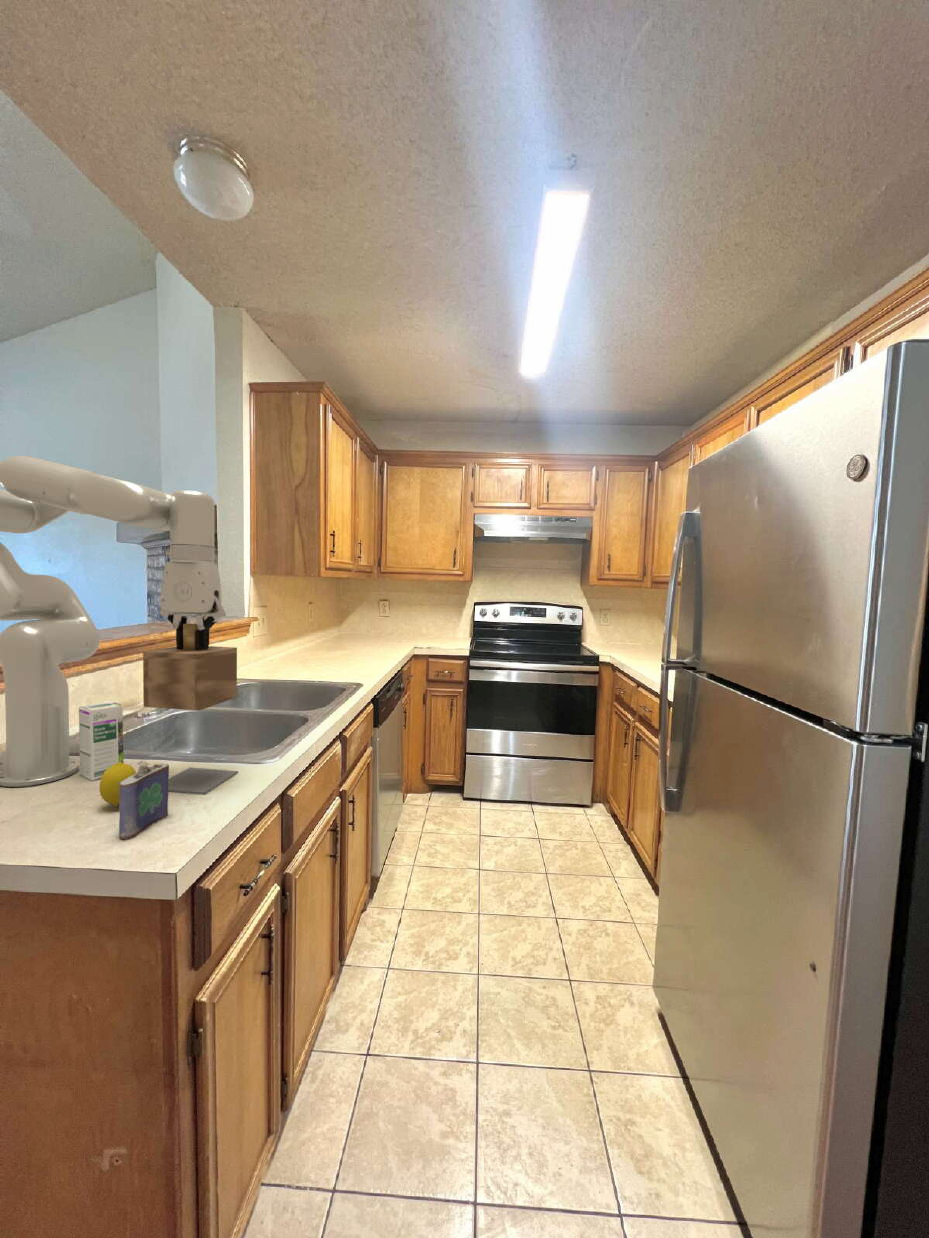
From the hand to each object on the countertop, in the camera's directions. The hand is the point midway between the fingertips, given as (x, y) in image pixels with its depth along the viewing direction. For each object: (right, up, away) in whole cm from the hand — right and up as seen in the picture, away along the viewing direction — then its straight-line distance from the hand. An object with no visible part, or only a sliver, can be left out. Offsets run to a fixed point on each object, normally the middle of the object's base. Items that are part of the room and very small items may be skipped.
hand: (192, 648), depth 94 cm
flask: (+1, -29, -16) cm, 33 cm away
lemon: (-8, -28, -9) cm, 30 cm away
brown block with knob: (0, -11, +1) cm, 11 cm away
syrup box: (-22, -27, +4) cm, 34 cm away
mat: (-1, -27, +2) cm, 27 cm away
